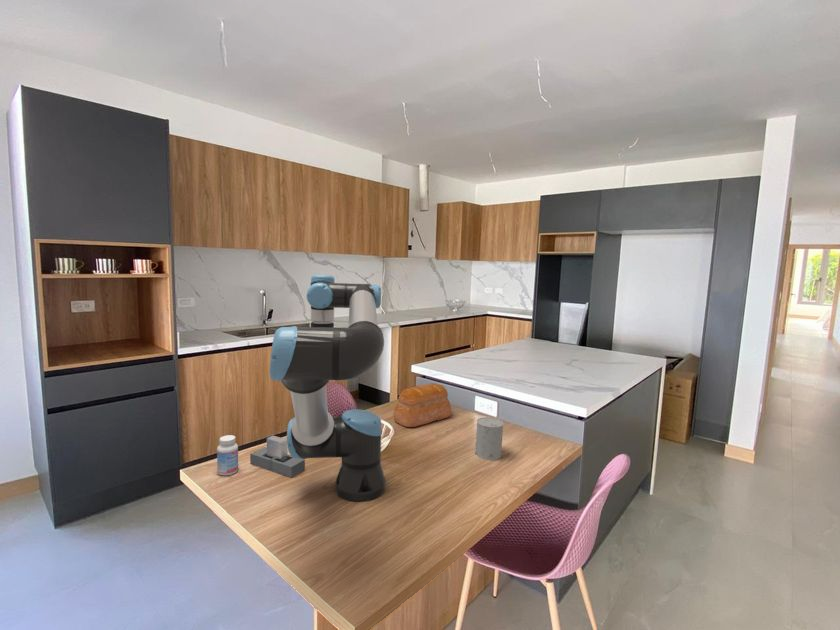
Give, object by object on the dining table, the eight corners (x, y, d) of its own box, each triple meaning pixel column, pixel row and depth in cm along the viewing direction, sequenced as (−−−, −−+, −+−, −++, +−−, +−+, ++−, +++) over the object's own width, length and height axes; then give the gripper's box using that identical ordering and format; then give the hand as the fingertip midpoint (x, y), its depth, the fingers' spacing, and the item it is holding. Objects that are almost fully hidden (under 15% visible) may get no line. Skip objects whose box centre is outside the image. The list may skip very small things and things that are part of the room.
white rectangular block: (287, 465, 139) (287, 439, 138) (281, 469, 137) (281, 442, 136) (272, 461, 142) (272, 435, 141) (266, 464, 140) (266, 438, 139)
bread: (454, 417, 191) (456, 385, 189) (409, 430, 174) (410, 395, 172) (434, 409, 201) (435, 378, 199) (389, 420, 184) (391, 386, 182)
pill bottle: (230, 477, 132) (230, 443, 130) (213, 474, 133) (212, 440, 131) (242, 468, 137) (242, 435, 136) (225, 466, 139) (225, 433, 137)
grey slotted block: (304, 469, 138) (304, 459, 138) (291, 477, 133) (291, 467, 132) (264, 456, 146) (264, 447, 146) (250, 463, 141) (250, 453, 140)
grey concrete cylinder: (472, 457, 152) (473, 424, 151) (478, 446, 161) (480, 415, 160) (498, 462, 149) (500, 429, 147) (503, 451, 158) (505, 420, 156)
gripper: (336, 317, 152) (335, 374, 155) (286, 324, 130) (286, 391, 133) (353, 319, 149) (352, 377, 151) (305, 327, 127) (304, 395, 129)
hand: (321, 384), depth 142 cm, fingers open, 13 cm apart
